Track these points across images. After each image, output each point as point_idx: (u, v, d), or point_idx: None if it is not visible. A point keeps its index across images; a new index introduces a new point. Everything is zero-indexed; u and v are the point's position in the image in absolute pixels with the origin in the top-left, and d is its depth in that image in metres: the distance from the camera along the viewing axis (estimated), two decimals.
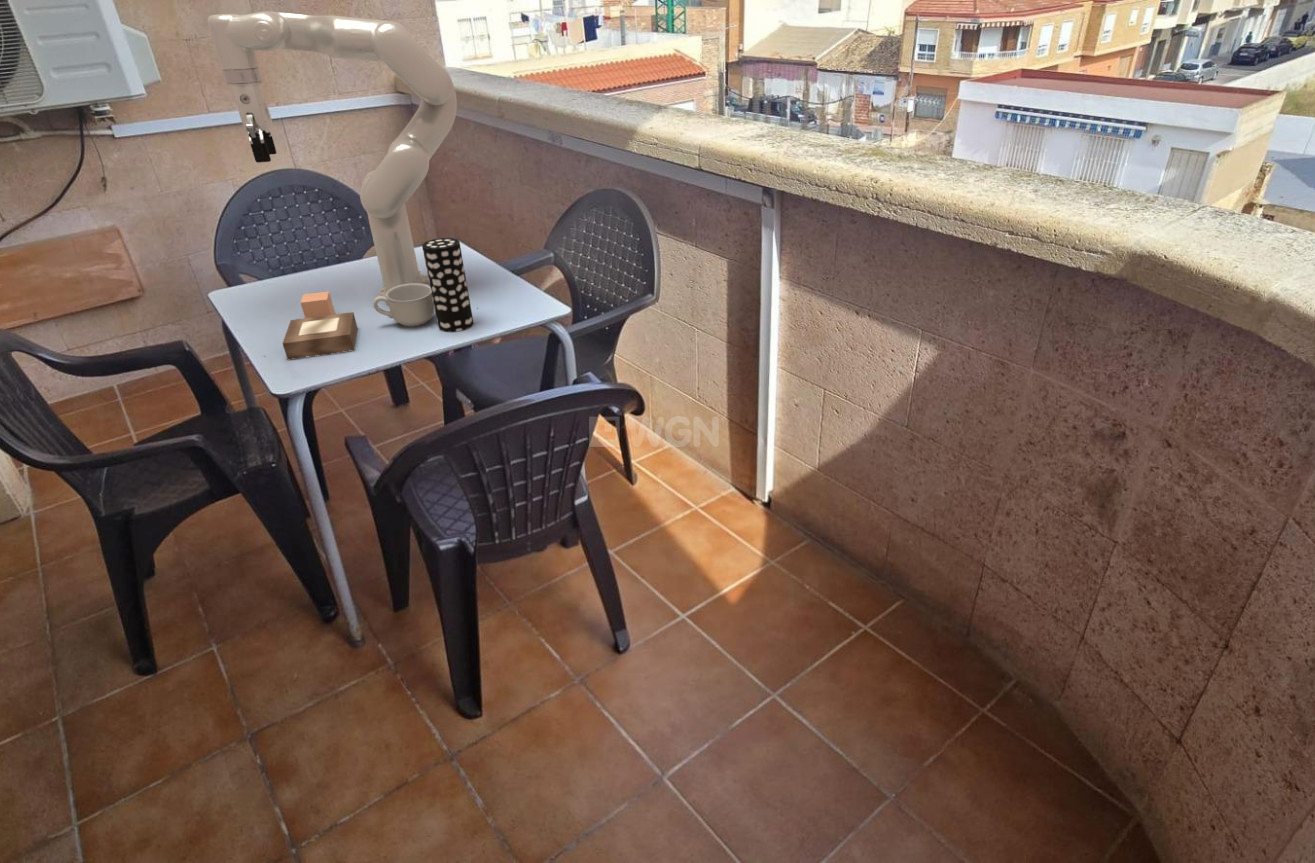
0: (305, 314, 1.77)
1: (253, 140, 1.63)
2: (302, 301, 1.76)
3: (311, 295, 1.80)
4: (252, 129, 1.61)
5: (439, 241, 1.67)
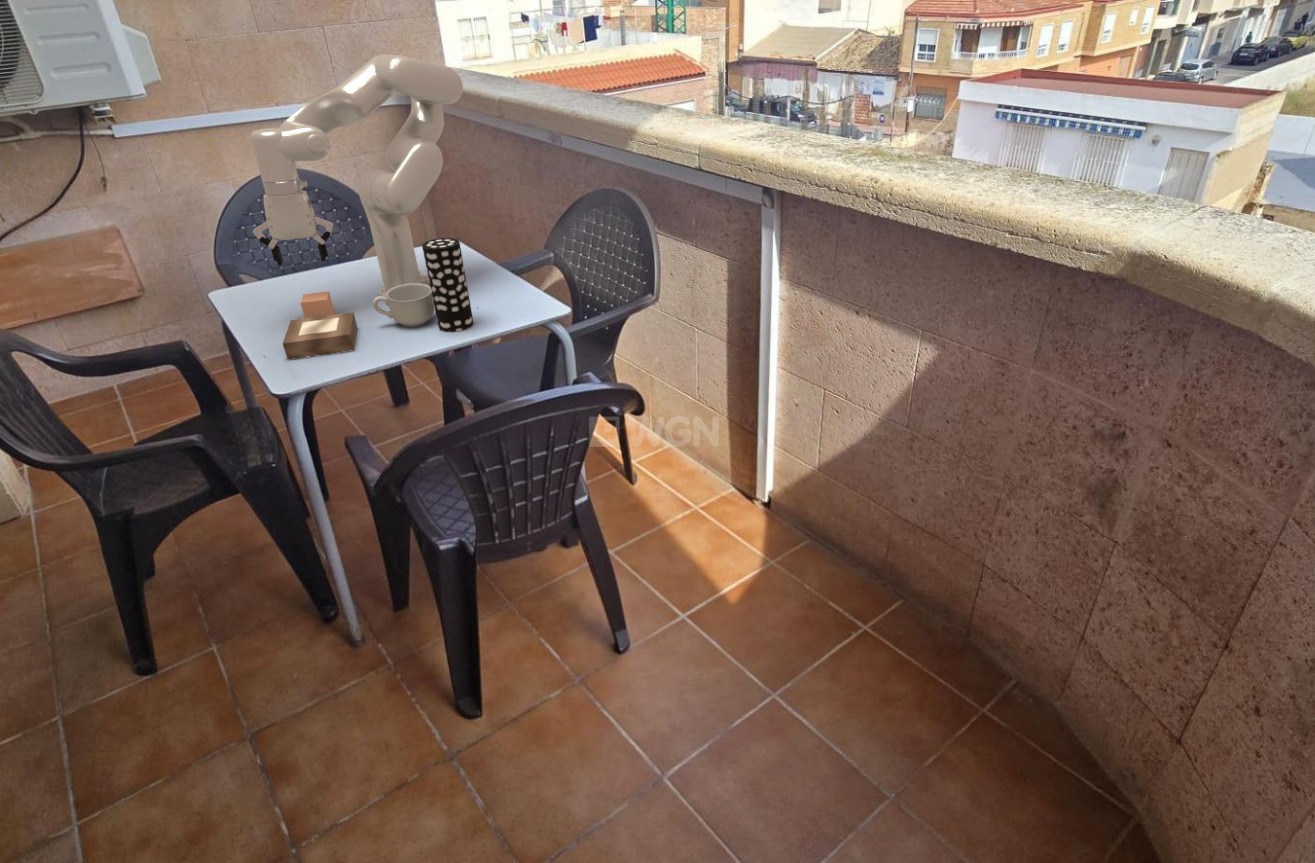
0: (305, 314, 1.77)
1: (327, 238, 1.72)
2: (302, 301, 1.76)
3: (311, 295, 1.80)
4: (332, 226, 1.72)
5: (439, 241, 1.67)
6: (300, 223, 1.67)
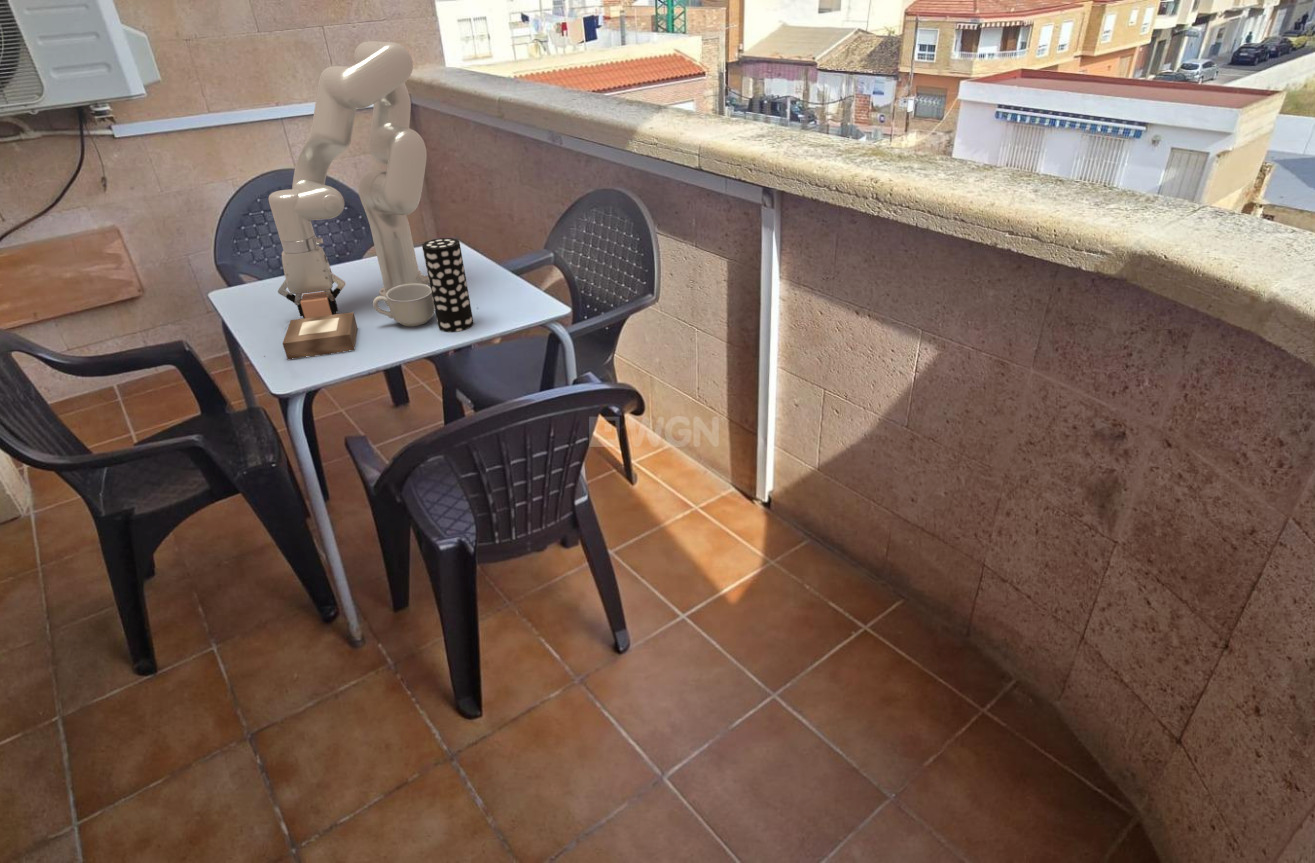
0: (305, 314, 1.77)
1: None
2: (302, 301, 1.76)
3: (311, 295, 1.79)
4: (344, 285, 1.80)
5: (439, 241, 1.67)
6: (317, 278, 1.74)
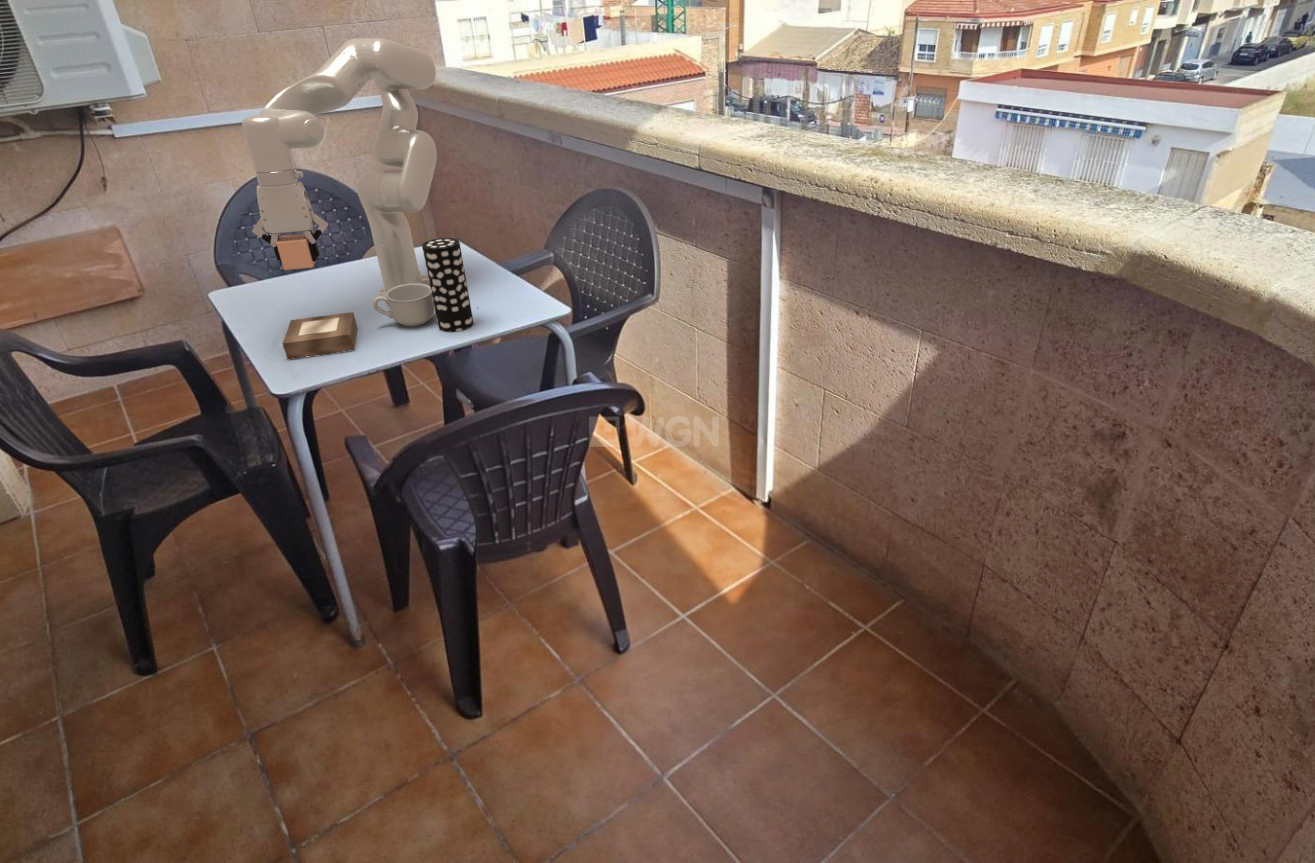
0: (281, 256, 1.60)
1: (318, 237, 1.62)
2: (278, 242, 1.59)
3: (289, 237, 1.62)
4: None
5: (439, 241, 1.67)
6: (295, 216, 1.57)
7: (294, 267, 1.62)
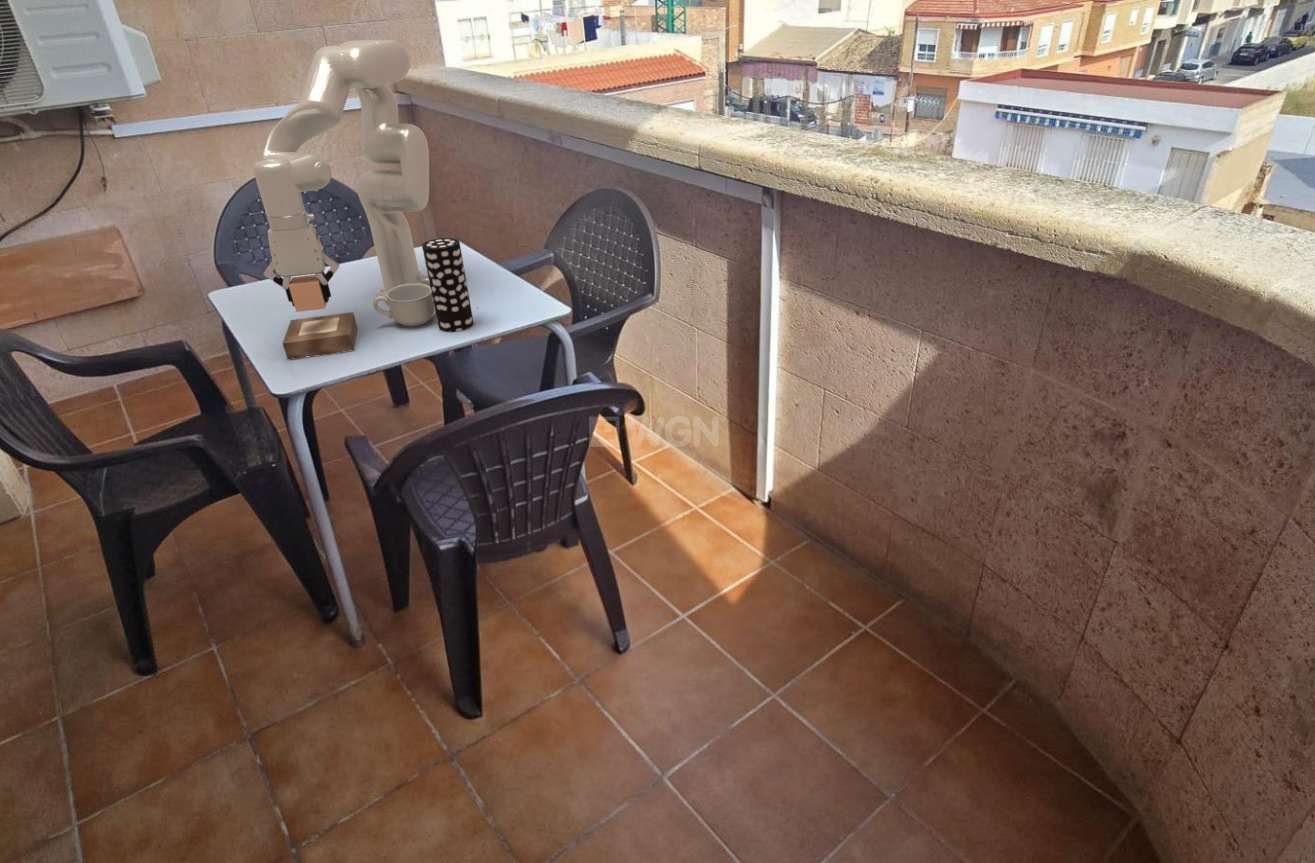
0: (294, 299, 1.59)
1: (330, 278, 1.62)
2: (290, 284, 1.58)
3: (301, 278, 1.62)
4: (337, 268, 1.62)
5: (439, 241, 1.67)
6: (307, 259, 1.57)
7: (306, 309, 1.61)
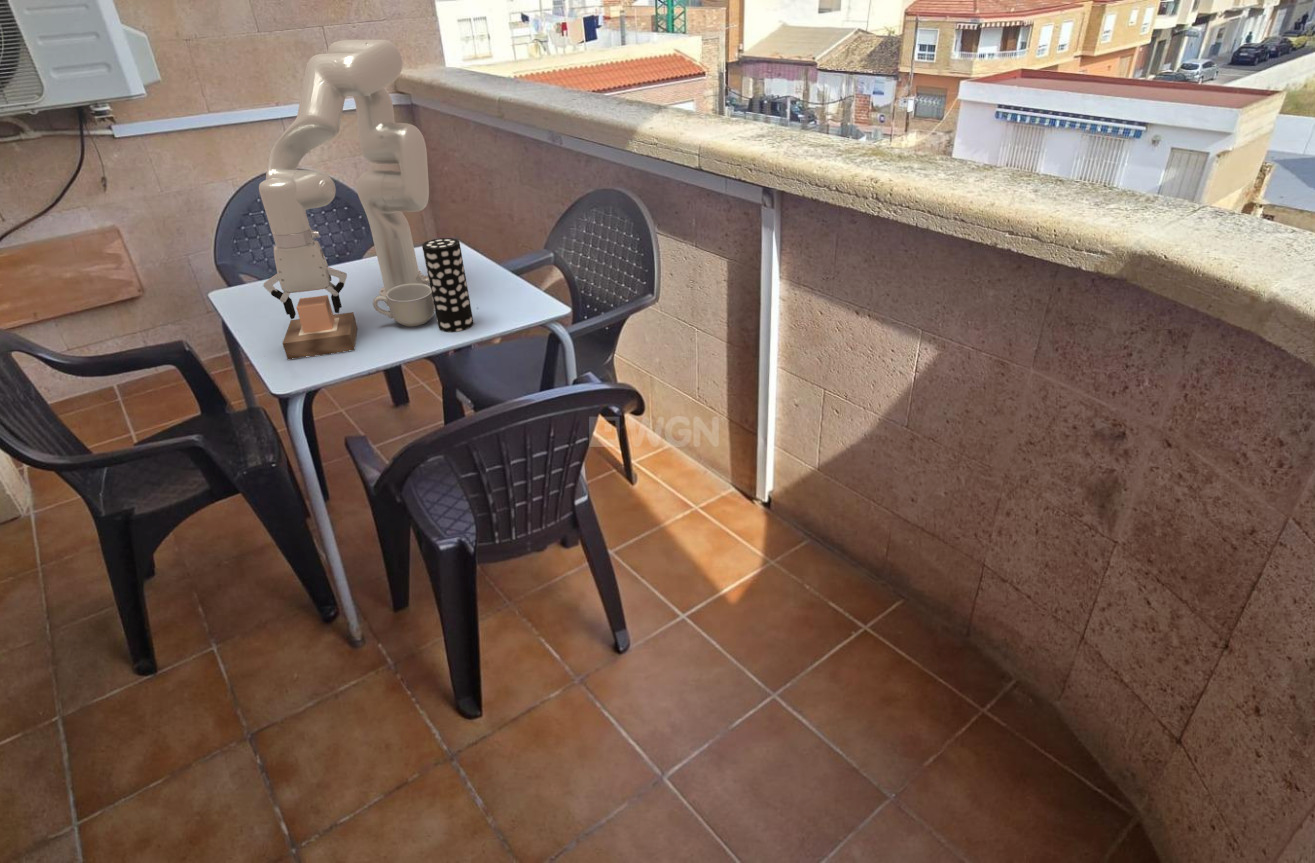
0: (301, 320, 1.62)
1: (340, 290, 1.64)
2: (298, 306, 1.61)
3: (308, 299, 1.65)
4: None
5: (439, 241, 1.67)
6: (312, 275, 1.59)
7: (314, 330, 1.64)
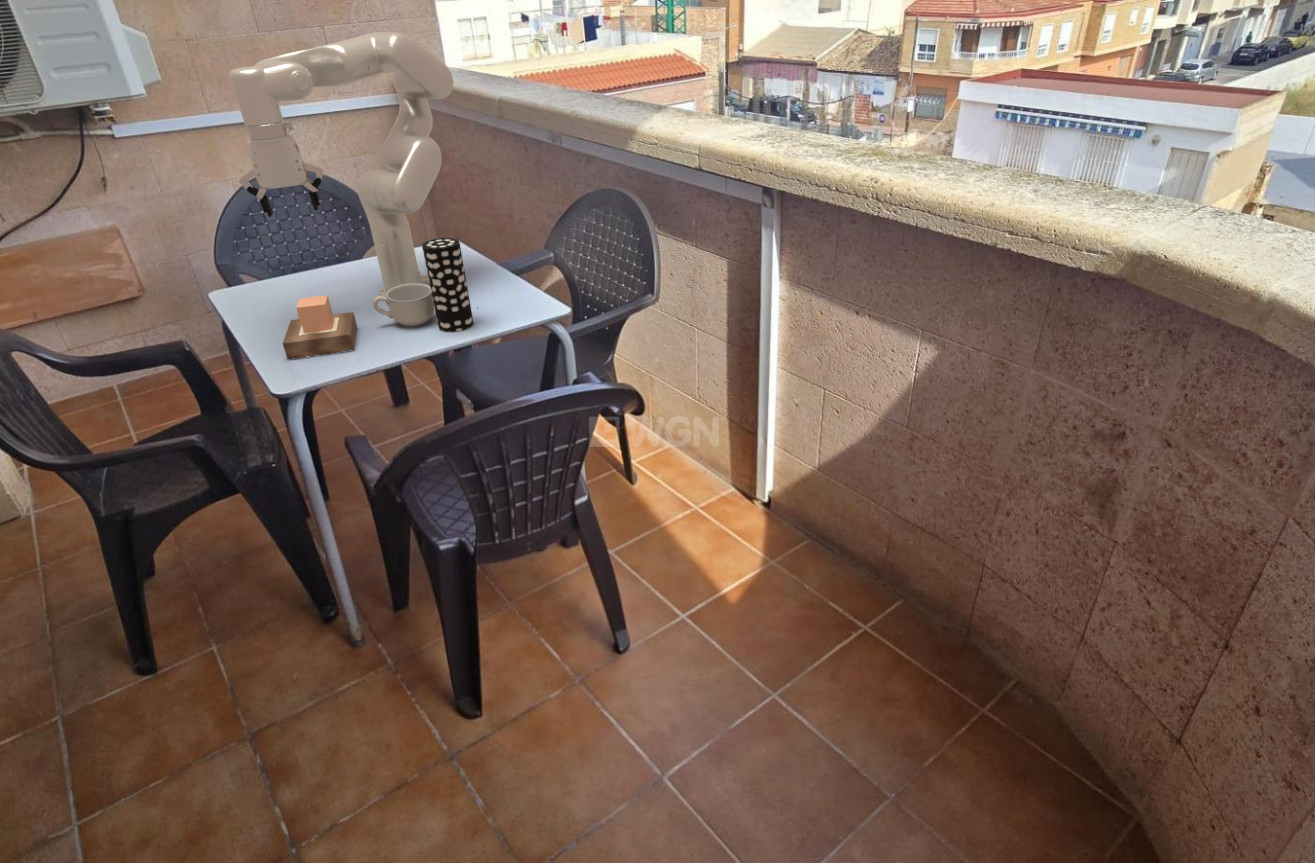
0: (301, 320, 1.62)
1: (318, 185, 1.63)
2: (298, 306, 1.61)
3: (308, 299, 1.65)
4: None
5: (439, 241, 1.67)
6: (289, 169, 1.58)
7: (314, 330, 1.64)
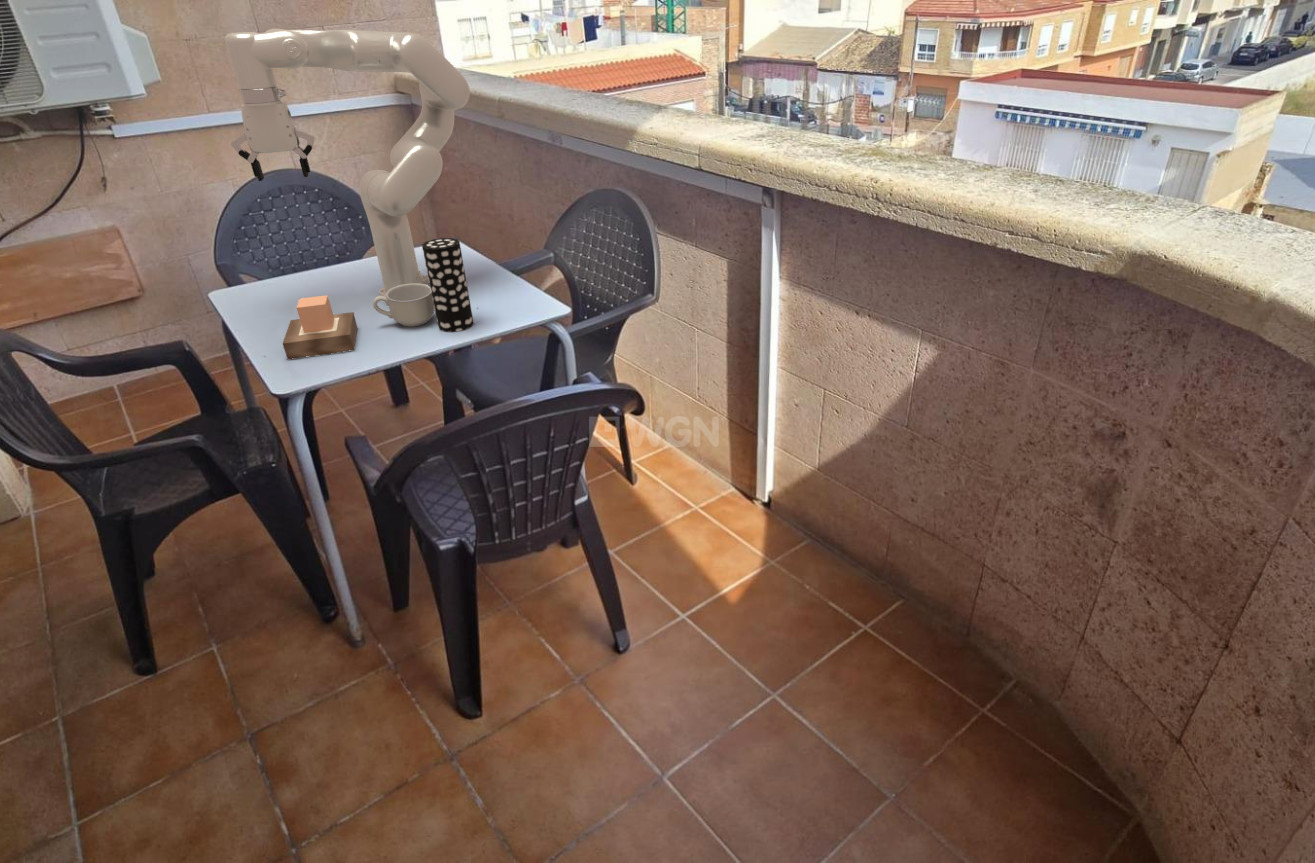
0: (301, 320, 1.62)
1: None
2: (298, 306, 1.61)
3: (308, 299, 1.65)
4: None
5: (439, 241, 1.67)
6: (280, 135, 1.61)
7: (314, 330, 1.64)
